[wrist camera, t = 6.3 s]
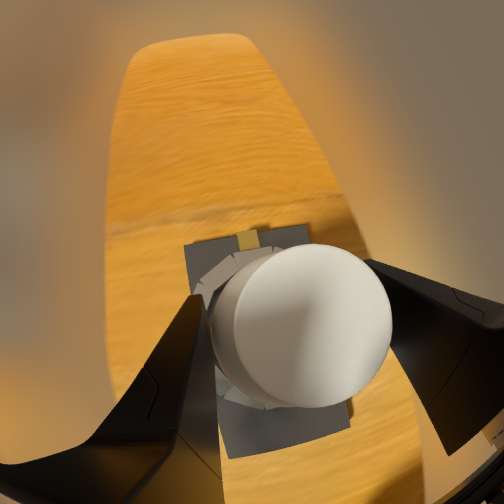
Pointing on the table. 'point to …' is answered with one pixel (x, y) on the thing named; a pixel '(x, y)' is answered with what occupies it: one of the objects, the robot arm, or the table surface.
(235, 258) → the collar
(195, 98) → the table surface
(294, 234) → the plate
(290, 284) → the pill bottle
